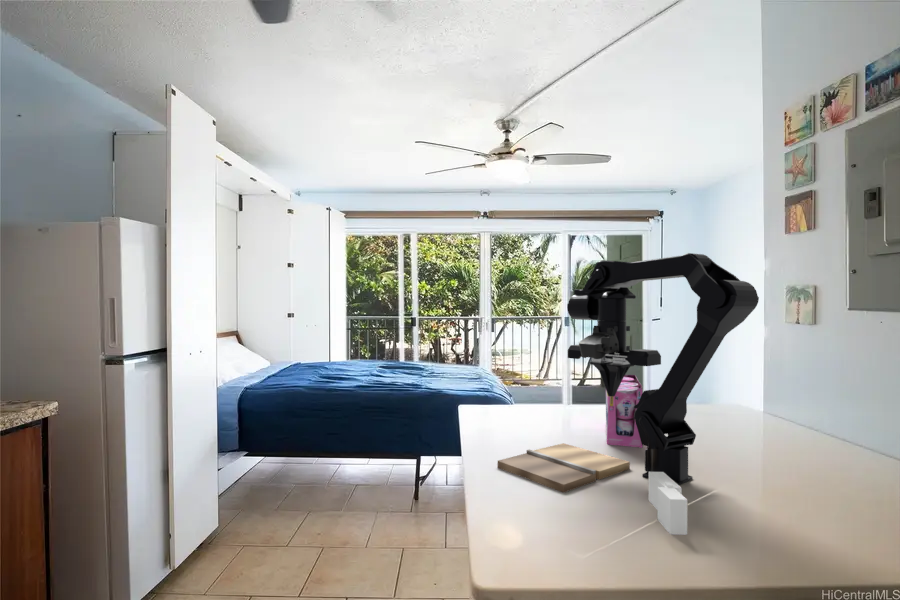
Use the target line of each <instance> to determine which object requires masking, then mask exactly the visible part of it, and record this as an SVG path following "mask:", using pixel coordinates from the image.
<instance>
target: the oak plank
mask: <svg viewBox="0 0 900 600" xmlns="http://www.w3.org/2000/svg"><path fill="white" fill-rule="evenodd" d="M532 450H533V449H532ZM533 451H536V452H539V453H542V454H545V455H549V456H552V457H555V458H558V459H561V460H565V461H568V462H571V463H574V464H577V465H581V466H584V467H587V468H590V469H593V470H596V479H597V480H598V481H600V480H602V479H605V478H608V477H611V476H614V475H617V474H619V473H622V472H625V471H628V470H630V469H631V468H630V466H631V462H630V461H628V460H624V459H621V458H617V457H613V456H610V455H606V454H604V453H600V452H599V453H598V452H597V451H592V450H589V449H587V448H586V449H585V448H582V447H578V446H574V445H571V444H567V443H559V444H555V445H549V446H547V447H542V448H538V449H534V450H533Z"/></svg>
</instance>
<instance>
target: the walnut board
mask: <svg viewBox="0 0 900 600" xmlns="http://www.w3.org/2000/svg"><path fill="white" fill-rule="evenodd" d="M497 469H500V470H503V471H506V472H508V473H511V474H513V475H516V476H519V477H521V478H524V479H527V480H529V481H532V482H534V483H538V484H540V485H542V486H545V487H548V488H551V489H553V490H556V491H558V492H560V493H567V492H569V491H573V490H575V489H578V488H580V487H584V486H586V485H588V484H592V483H594V482H596V481H597V480H596V470H593V469H590V468H587V467H584V466H581V465H577V464H574V463H571V462H568V461H565V460H561V459H558V458H555V457H552V456H549V455H545V454H542V453H539V452H536V451H533V449H530V448H529V449H526V452H525V453H522V454H519V455H513V456H510V457H506V458H503V459H499V460H497Z"/></svg>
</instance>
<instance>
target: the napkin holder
mask: <svg viewBox="0 0 900 600" xmlns="http://www.w3.org/2000/svg"><path fill="white" fill-rule="evenodd" d="M648 501H649V503H650V504H651V505H652V506H653V507H654V508H655V510H656V511H657V521H658V523H660V524H661V525H662V527H663V528H664V529H665V531H667V533H668V534H669V535H680V536H681V535H683V536H684V535H686V536H687V535H688V498H686V497H685V496H684V495H683V494H682V487H681V485H678V484H677V483H676V482H674V481H673V480H672V479H671V478H670V477H669V476H667V475H666V474H665V473H664V472H649V479H648Z"/></svg>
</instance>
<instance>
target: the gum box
mask: <svg viewBox="0 0 900 600" xmlns="http://www.w3.org/2000/svg"><path fill="white" fill-rule="evenodd" d="M642 393H643V385H642V384H641V382H640V381H639V379H638V377H637V375H636V374H625V376H624V377H623V379H622V381H621V383H620V386H619V388H618V390H617V392H616V394H615V396H613V397H611V396H608V393H607V390H606V389H605V427H606V431H605V432H606V444H607V445H611V446H620V447H621V446H624V447H632V448H634V447H636V448H640V449H642V448H643V445H642V443H641V439H640V436H639V432H638V429H637V425H636V422H635V419H634V413H635V411H636V409H637V408H634V406H635V405H637V404H638V402H639V401H640V398H641V395H642Z"/></svg>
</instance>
